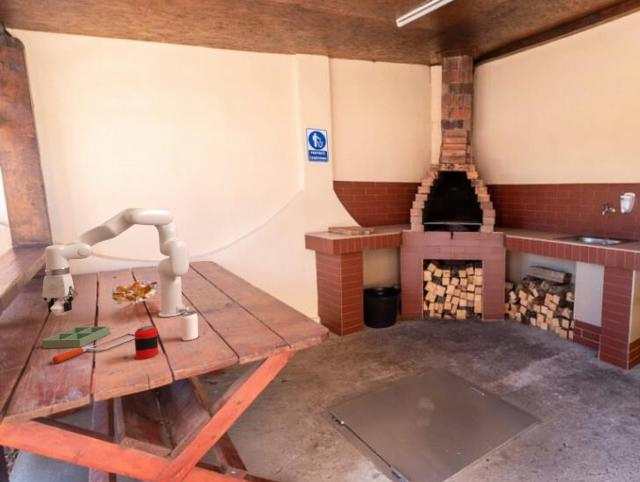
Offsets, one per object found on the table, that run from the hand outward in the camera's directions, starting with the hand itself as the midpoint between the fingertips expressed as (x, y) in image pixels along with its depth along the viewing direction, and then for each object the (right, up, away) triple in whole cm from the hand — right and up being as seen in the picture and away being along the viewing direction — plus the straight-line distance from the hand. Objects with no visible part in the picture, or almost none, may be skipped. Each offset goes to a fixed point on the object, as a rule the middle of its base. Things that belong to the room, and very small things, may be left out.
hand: (60, 310), depth 178 cm
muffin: (0, -2, 0) cm, 2 cm away
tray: (+4, -15, +4) cm, 16 cm away
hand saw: (+23, -16, -4) cm, 28 cm away
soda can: (+50, -16, -12) cm, 54 cm away
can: (+56, -15, +6) cm, 58 cm away
